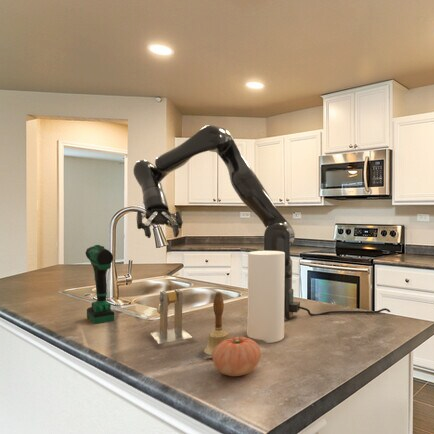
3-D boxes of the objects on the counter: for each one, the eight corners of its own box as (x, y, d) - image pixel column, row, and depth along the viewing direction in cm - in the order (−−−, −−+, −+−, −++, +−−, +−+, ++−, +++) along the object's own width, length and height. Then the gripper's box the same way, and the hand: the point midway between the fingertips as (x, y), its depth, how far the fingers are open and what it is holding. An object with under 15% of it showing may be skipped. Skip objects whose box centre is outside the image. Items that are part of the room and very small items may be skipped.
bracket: (149, 337, 111) (150, 289, 111) (181, 331, 116) (181, 286, 116) (158, 348, 102) (159, 297, 102) (192, 341, 108) (193, 293, 107)
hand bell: (235, 358, 96) (236, 295, 96) (201, 361, 94) (201, 296, 93) (233, 347, 104) (234, 288, 104) (201, 349, 101) (202, 290, 101)
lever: (156, 316, 117) (155, 306, 118) (167, 314, 118) (166, 304, 120) (167, 302, 107) (165, 291, 108) (178, 300, 108) (177, 290, 110)
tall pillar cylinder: (282, 330, 118) (283, 250, 118) (285, 342, 108) (286, 254, 108) (247, 332, 117) (248, 250, 116) (246, 344, 106) (247, 254, 106)
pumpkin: (213, 365, 91) (214, 332, 91) (259, 361, 94) (259, 329, 94) (210, 385, 81) (211, 347, 81) (262, 380, 83) (262, 344, 83)
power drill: (94, 327, 119) (94, 247, 119) (78, 309, 141) (78, 241, 140) (114, 324, 123) (115, 247, 122) (96, 307, 144) (96, 241, 144)
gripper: (134, 194, 130) (141, 228, 121) (177, 195, 139) (187, 228, 130) (132, 209, 135) (138, 244, 126) (173, 209, 143) (182, 242, 134)
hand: (163, 236), depth 128 cm, fingers open, 8 cm apart
